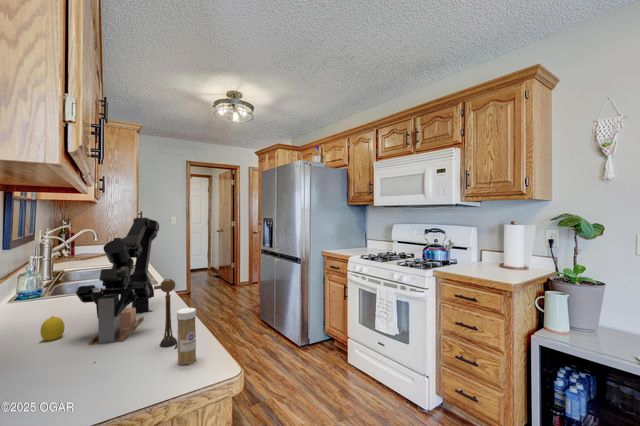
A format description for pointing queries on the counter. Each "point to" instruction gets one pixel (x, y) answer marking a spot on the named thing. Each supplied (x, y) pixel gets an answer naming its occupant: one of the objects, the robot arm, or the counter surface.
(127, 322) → the terracotta block
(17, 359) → the counter surface
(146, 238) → the robot arm
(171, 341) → the wooden tabletop sculpture
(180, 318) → the sprinkles bottle
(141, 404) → the counter surface
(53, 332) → the lemon
